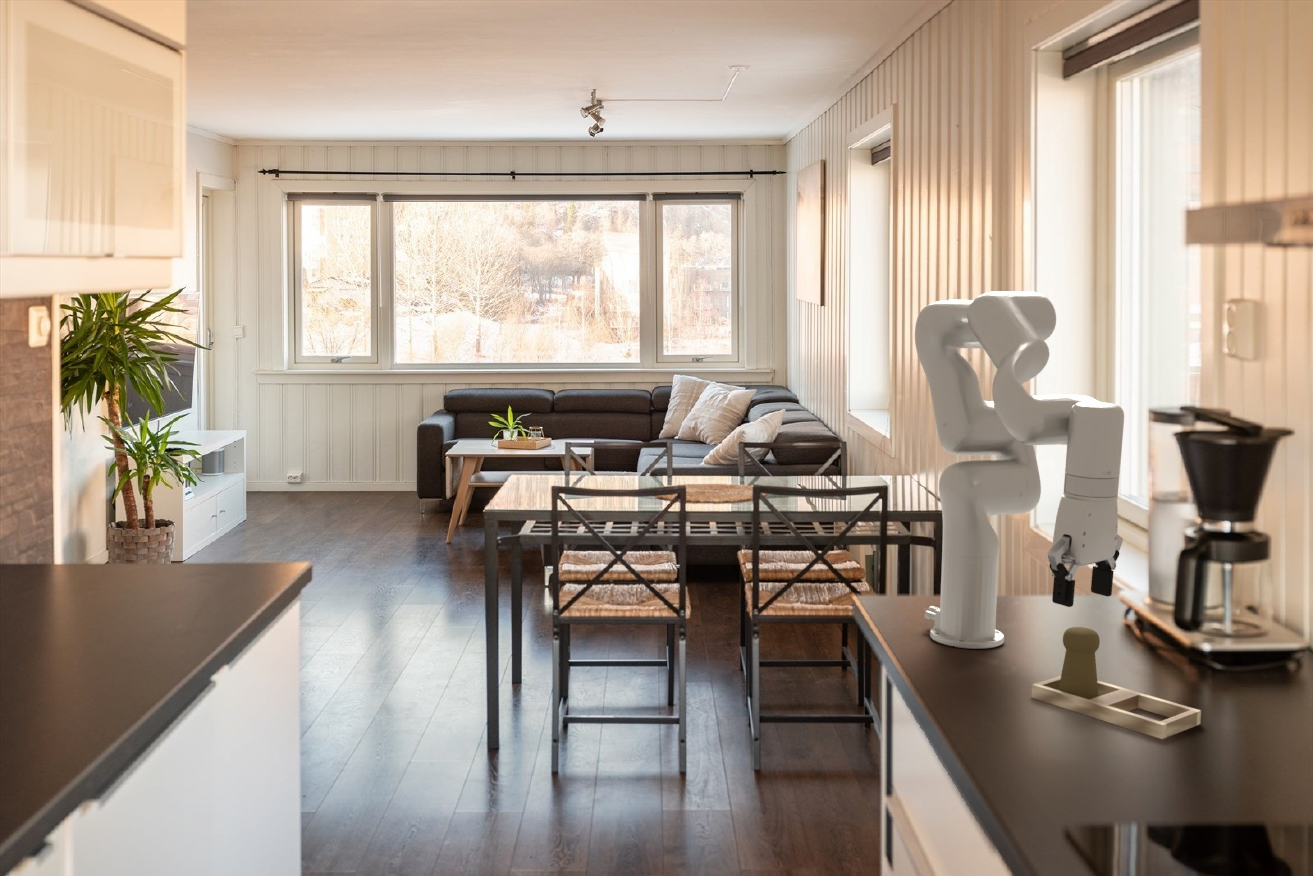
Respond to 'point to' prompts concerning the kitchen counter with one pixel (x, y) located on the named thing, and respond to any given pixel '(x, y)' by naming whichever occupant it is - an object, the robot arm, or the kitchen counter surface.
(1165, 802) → the kitchen counter surface
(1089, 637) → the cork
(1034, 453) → the robot arm
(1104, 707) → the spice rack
